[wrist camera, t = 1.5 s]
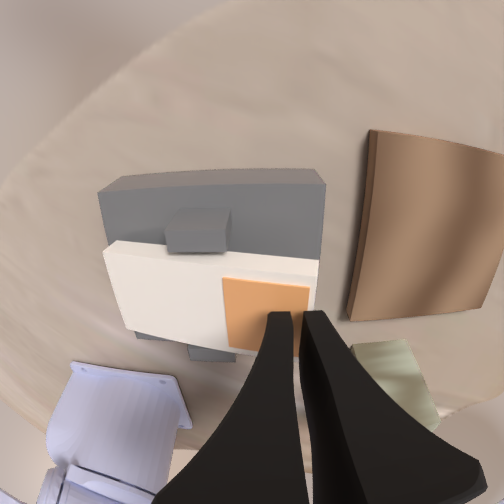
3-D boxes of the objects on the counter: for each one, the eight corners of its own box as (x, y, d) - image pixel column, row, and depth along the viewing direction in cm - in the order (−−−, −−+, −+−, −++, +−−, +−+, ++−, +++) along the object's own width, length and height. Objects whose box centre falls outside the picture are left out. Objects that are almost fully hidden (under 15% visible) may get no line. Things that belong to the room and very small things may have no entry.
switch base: (149, 309, 17) (125, 365, 13) (121, 176, 13) (72, 210, 9) (303, 311, 17) (313, 373, 13) (314, 169, 13) (339, 202, 9)
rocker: (137, 315, 13) (125, 329, 12) (116, 240, 11) (101, 252, 10) (308, 345, 12) (305, 364, 11) (319, 259, 10) (317, 278, 9)
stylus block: (341, 380, 20) (357, 463, 14) (352, 344, 18) (377, 437, 12) (389, 375, 20) (414, 451, 14) (405, 338, 18) (441, 422, 12)
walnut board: (346, 310, 16) (349, 321, 16) (369, 129, 12) (377, 132, 11) (474, 299, 16) (480, 308, 15) (513, 157, 11) (523, 162, 10)
